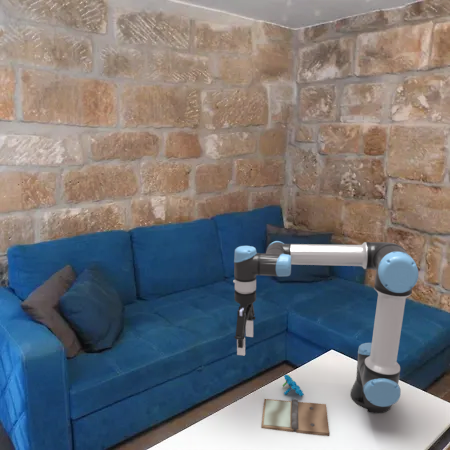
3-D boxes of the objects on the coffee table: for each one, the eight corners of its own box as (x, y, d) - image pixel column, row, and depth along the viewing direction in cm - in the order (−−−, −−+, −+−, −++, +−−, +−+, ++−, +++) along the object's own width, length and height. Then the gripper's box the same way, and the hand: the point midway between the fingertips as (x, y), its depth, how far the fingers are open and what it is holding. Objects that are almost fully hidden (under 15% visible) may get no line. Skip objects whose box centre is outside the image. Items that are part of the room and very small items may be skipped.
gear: (308, 398, 166) (291, 383, 163) (297, 409, 166) (279, 394, 164) (299, 382, 177) (282, 367, 174) (288, 392, 177) (272, 377, 174)
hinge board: (325, 406, 163) (326, 401, 162) (329, 436, 148) (329, 430, 147) (264, 401, 166) (264, 396, 165) (261, 429, 151) (261, 423, 150)
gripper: (242, 277, 165) (243, 328, 170) (225, 303, 141) (226, 361, 146) (262, 278, 163) (262, 330, 168) (248, 305, 139) (248, 364, 144)
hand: (245, 345), depth 157 cm, fingers open, 13 cm apart
